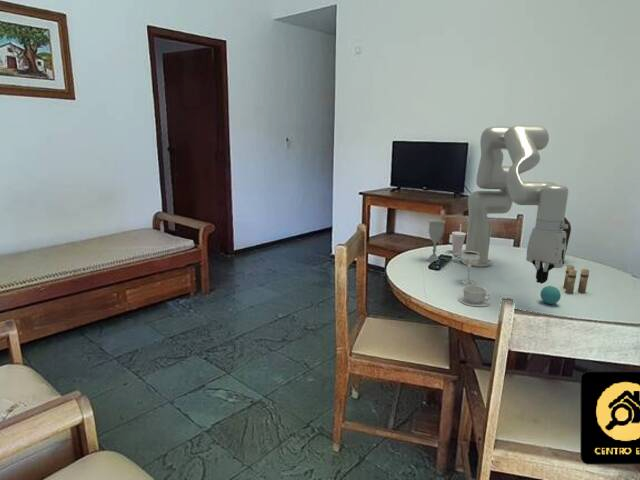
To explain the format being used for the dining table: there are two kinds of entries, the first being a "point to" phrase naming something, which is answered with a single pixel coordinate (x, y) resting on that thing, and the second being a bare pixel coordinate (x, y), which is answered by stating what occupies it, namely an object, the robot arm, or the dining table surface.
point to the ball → (550, 294)
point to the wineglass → (469, 262)
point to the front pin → (571, 281)
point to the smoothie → (458, 240)
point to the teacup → (474, 296)
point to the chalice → (435, 235)
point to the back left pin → (567, 275)
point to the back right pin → (583, 280)
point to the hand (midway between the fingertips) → (541, 282)
